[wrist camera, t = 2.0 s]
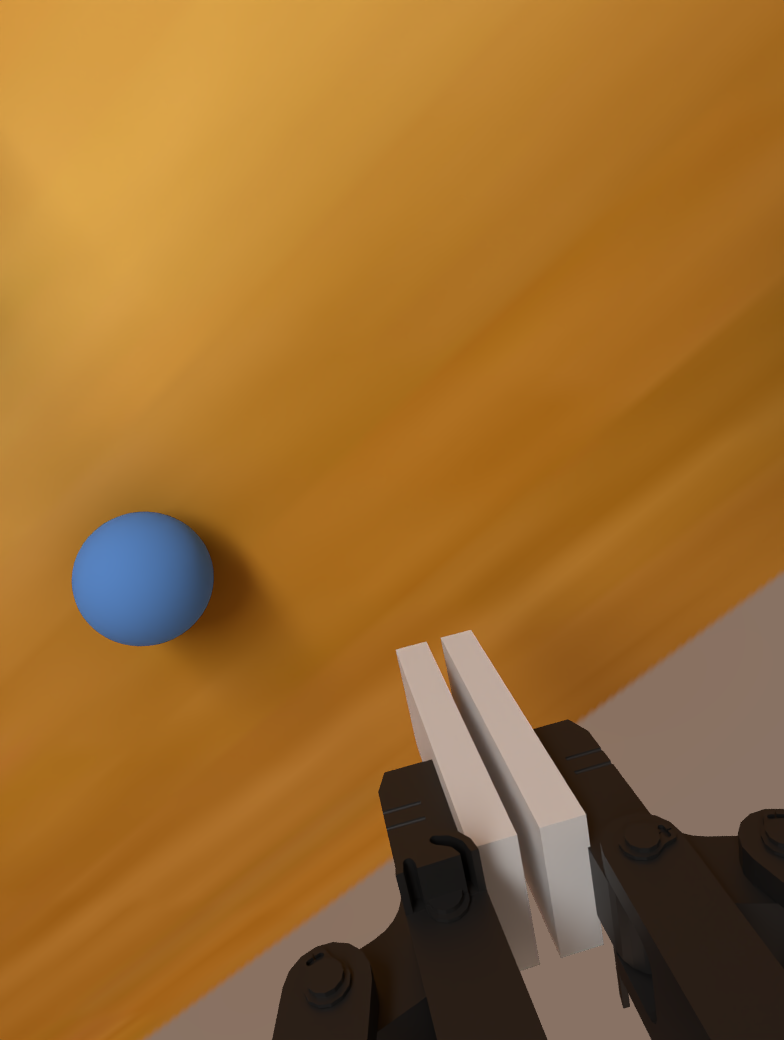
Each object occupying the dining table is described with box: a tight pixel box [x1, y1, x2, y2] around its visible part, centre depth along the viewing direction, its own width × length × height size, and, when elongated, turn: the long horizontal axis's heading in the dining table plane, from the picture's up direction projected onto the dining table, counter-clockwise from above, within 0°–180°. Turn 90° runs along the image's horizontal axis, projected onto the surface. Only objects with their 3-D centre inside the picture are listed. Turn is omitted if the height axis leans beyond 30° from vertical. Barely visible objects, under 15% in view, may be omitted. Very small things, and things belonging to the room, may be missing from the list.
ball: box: [72, 512, 214, 646], centre depth 29 cm, size 6×6×6 cm
